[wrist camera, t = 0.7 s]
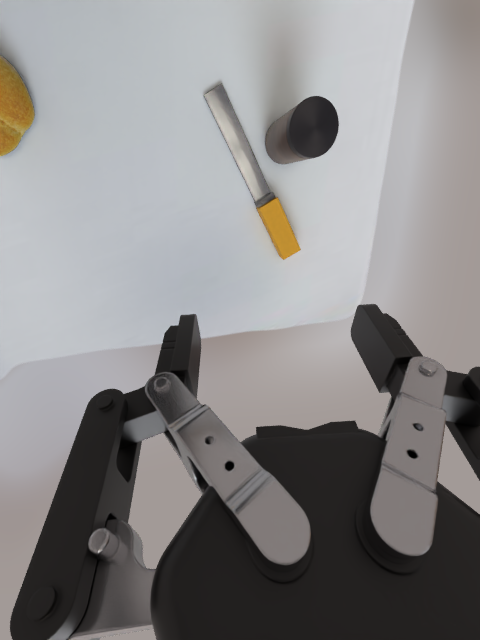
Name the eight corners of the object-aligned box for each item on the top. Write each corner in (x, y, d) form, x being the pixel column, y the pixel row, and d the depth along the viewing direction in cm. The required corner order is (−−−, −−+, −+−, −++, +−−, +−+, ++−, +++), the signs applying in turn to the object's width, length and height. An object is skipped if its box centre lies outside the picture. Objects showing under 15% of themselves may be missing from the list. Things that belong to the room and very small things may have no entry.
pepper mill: (258, 132, 32) (281, 114, 24) (293, 109, 32) (328, 84, 24) (275, 171, 34) (301, 167, 26) (308, 151, 34) (345, 140, 26)
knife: (202, 96, 30) (202, 91, 28) (222, 83, 30) (224, 77, 28) (279, 256, 39) (283, 259, 37) (296, 247, 39) (300, 249, 37)
